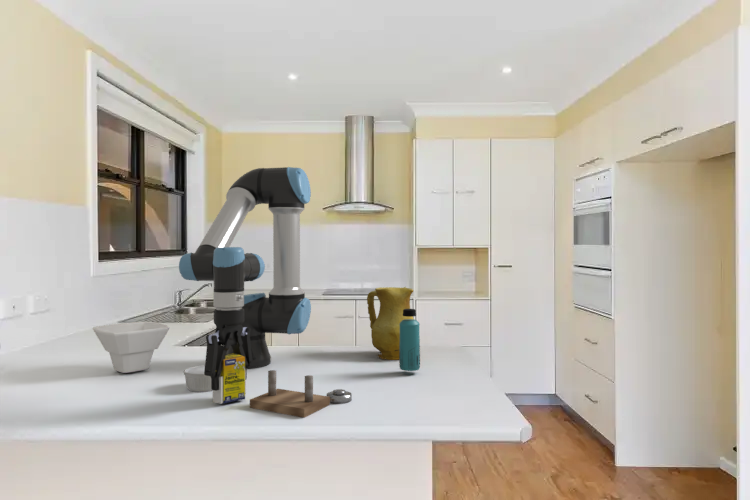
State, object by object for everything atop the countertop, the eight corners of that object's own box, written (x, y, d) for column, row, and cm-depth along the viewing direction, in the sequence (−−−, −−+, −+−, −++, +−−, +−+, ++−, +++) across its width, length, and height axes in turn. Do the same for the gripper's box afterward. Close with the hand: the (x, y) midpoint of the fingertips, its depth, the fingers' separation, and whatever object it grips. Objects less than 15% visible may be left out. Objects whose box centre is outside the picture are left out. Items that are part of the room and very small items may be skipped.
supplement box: (223, 404, 129) (223, 360, 129) (213, 398, 134) (213, 355, 133) (246, 399, 133) (245, 356, 133) (235, 394, 138) (234, 352, 137)
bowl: (175, 371, 165) (175, 326, 165) (110, 382, 151) (110, 334, 150) (149, 361, 178) (149, 320, 177) (86, 371, 163) (86, 327, 163)
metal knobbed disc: (321, 401, 133) (321, 392, 133) (334, 395, 139) (334, 386, 139) (343, 405, 130) (343, 395, 130) (356, 398, 136) (356, 389, 136)
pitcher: (385, 362, 175) (386, 287, 176) (361, 355, 192) (361, 286, 193) (429, 359, 183) (429, 287, 184) (401, 352, 200) (402, 286, 201)
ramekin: (182, 384, 149) (182, 366, 149) (223, 381, 153) (223, 362, 153) (185, 395, 139) (185, 375, 139) (228, 390, 143) (228, 371, 143)
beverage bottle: (418, 376, 159) (419, 310, 158) (397, 375, 160) (397, 309, 160) (421, 371, 165) (421, 307, 165) (400, 370, 166) (400, 307, 166)
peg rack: (249, 407, 128) (249, 374, 128) (277, 396, 138) (277, 365, 138) (304, 417, 121) (304, 382, 121) (329, 404, 130) (329, 372, 130)
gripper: (210, 314, 122) (211, 412, 122) (266, 304, 140) (267, 389, 141) (187, 312, 125) (187, 407, 126) (244, 302, 144) (245, 385, 144)
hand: (229, 397), depth 133 cm, fingers closed on supplement box, 7 cm apart
